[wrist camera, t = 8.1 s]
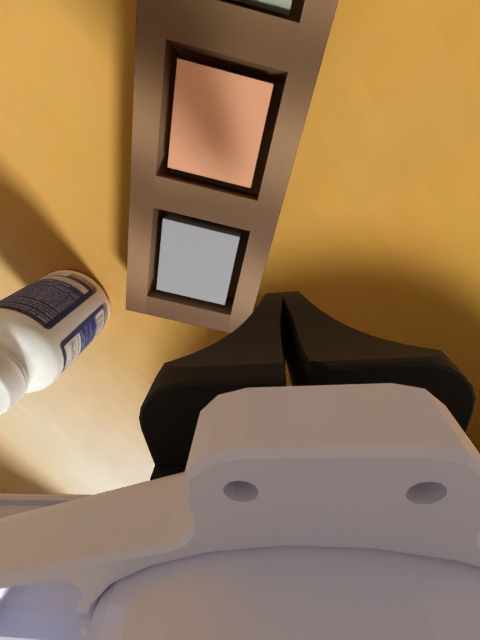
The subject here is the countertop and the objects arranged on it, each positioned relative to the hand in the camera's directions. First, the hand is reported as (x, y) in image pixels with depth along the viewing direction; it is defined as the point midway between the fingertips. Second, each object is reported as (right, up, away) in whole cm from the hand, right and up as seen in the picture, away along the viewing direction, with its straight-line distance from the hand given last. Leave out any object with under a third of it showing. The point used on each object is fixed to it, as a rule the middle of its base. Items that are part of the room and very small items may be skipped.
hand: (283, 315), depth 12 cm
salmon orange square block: (-3, +10, +5) cm, 12 cm away
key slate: (-4, +4, +8) cm, 10 cm away
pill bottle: (-14, +1, +11) cm, 18 cm away
